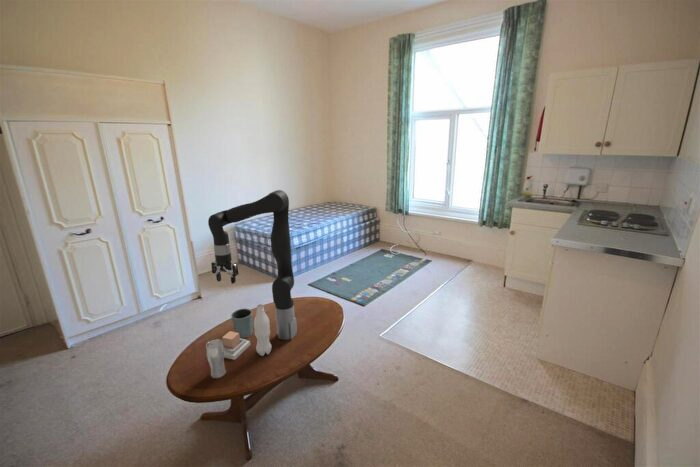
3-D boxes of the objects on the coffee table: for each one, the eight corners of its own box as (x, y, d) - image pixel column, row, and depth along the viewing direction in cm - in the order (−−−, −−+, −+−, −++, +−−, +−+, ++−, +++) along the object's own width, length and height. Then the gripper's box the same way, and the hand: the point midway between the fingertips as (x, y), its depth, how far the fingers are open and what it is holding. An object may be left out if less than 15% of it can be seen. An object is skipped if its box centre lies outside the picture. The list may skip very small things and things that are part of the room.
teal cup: (254, 337, 164) (252, 316, 161) (233, 341, 161) (231, 320, 157) (253, 326, 173) (251, 307, 170) (233, 330, 170) (231, 310, 166)
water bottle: (258, 359, 147) (253, 311, 140) (255, 350, 153) (250, 304, 146) (273, 354, 150) (269, 307, 143) (269, 346, 157) (266, 300, 150)
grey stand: (250, 344, 158) (249, 338, 157) (234, 359, 147) (234, 353, 146) (230, 340, 161) (229, 334, 160) (213, 354, 150) (212, 348, 149)
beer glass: (212, 368, 141) (208, 339, 137) (228, 367, 142) (225, 338, 138) (207, 379, 135) (202, 349, 130) (224, 378, 135) (220, 348, 131)
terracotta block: (240, 343, 155) (239, 333, 153) (233, 350, 150) (231, 339, 148) (231, 341, 157) (229, 331, 155) (223, 348, 152) (222, 337, 150)
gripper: (239, 251, 159) (242, 280, 163) (216, 248, 163) (219, 277, 167) (229, 256, 152) (233, 287, 156) (205, 253, 156) (209, 283, 161)
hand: (226, 282), depth 162 cm, fingers open, 8 cm apart
